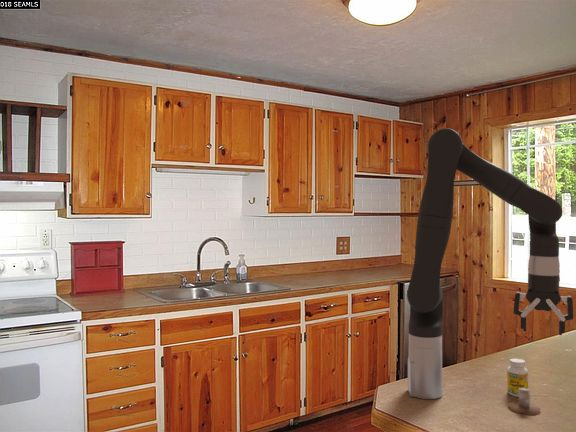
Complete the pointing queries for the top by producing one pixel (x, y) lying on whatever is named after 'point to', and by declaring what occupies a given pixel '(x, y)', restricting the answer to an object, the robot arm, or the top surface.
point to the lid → (524, 404)
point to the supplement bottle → (517, 376)
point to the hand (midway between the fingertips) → (542, 332)
